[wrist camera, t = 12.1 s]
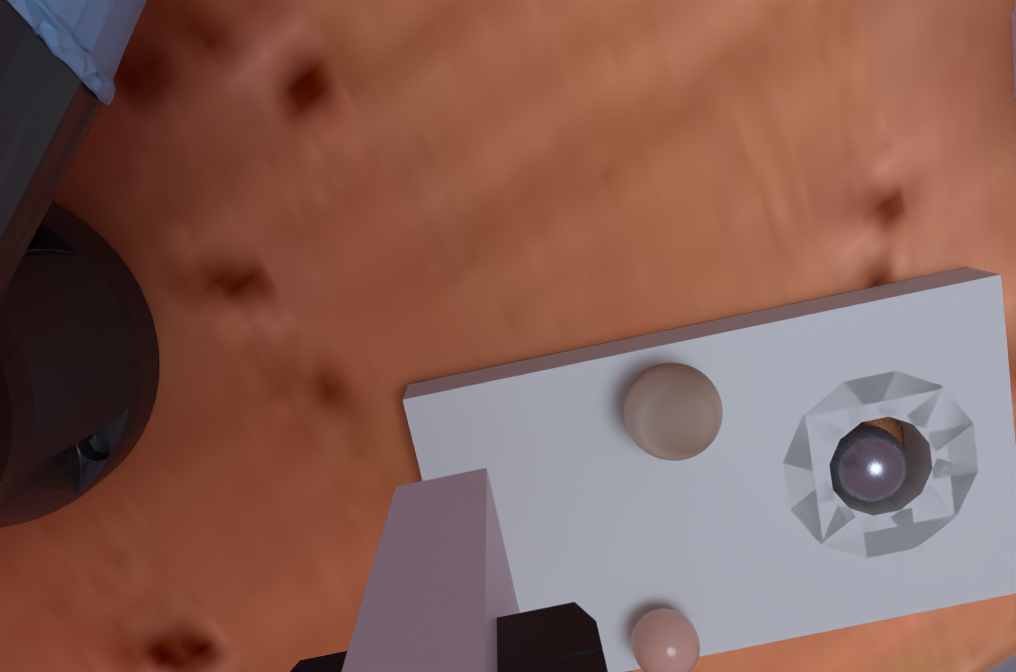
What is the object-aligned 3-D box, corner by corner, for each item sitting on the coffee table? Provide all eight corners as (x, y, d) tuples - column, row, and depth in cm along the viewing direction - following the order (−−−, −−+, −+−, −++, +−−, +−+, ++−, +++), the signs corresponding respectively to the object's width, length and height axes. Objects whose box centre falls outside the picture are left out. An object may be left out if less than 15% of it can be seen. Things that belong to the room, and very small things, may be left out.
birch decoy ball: (625, 450, 36) (641, 484, 32) (608, 363, 35) (623, 388, 31) (714, 431, 36) (742, 464, 32) (700, 344, 35) (726, 367, 31)
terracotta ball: (632, 660, 38) (644, 701, 35) (620, 602, 38) (631, 639, 35) (695, 647, 38) (712, 687, 35) (685, 589, 38) (701, 625, 35)
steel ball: (866, 507, 35) (938, 479, 35) (828, 431, 36) (898, 405, 36) (834, 518, 38) (900, 492, 39) (799, 448, 39) (864, 424, 40)
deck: (477, 669, 41) (476, 701, 39) (408, 384, 38) (402, 399, 35) (995, 564, 40) (1027, 590, 38) (967, 267, 37) (1001, 274, 35)
